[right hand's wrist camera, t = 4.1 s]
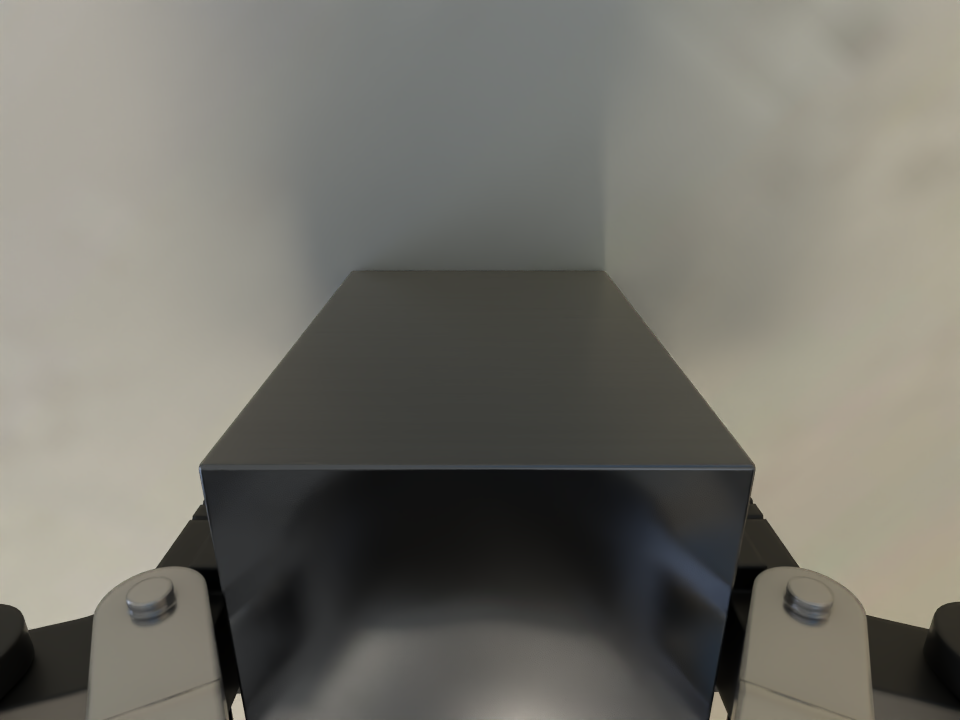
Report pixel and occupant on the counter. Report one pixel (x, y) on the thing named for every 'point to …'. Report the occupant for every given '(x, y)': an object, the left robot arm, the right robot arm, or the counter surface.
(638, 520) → the box
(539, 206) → the counter surface
